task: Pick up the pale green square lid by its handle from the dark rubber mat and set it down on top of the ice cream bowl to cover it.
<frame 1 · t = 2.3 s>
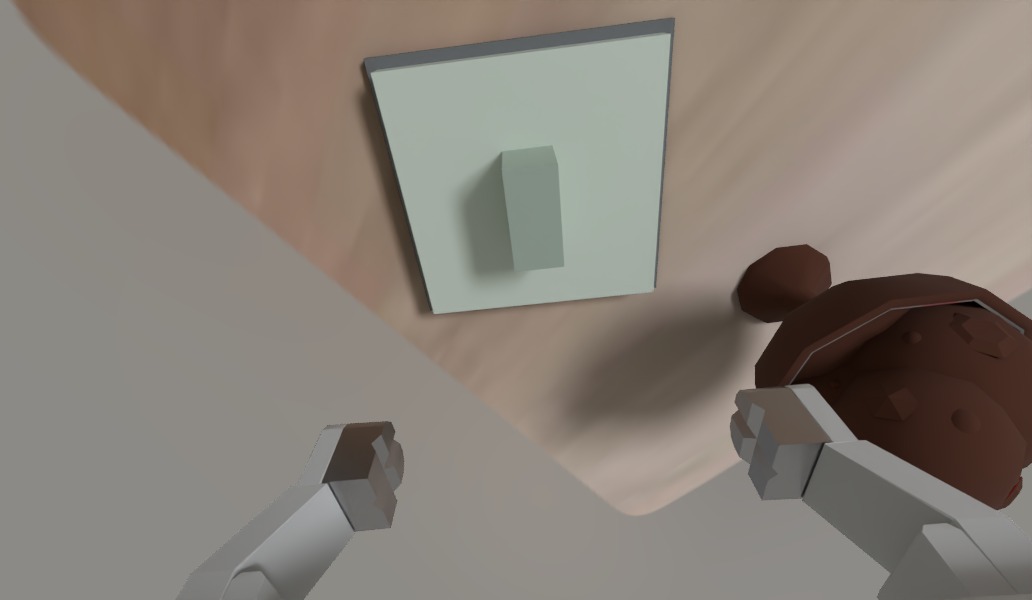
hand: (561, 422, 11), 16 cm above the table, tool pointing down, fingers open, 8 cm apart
ice cream bowl: (781, 282, 28), on the table
mat: (530, 187, 24), on the table
lid: (531, 189, 24), resting on mat
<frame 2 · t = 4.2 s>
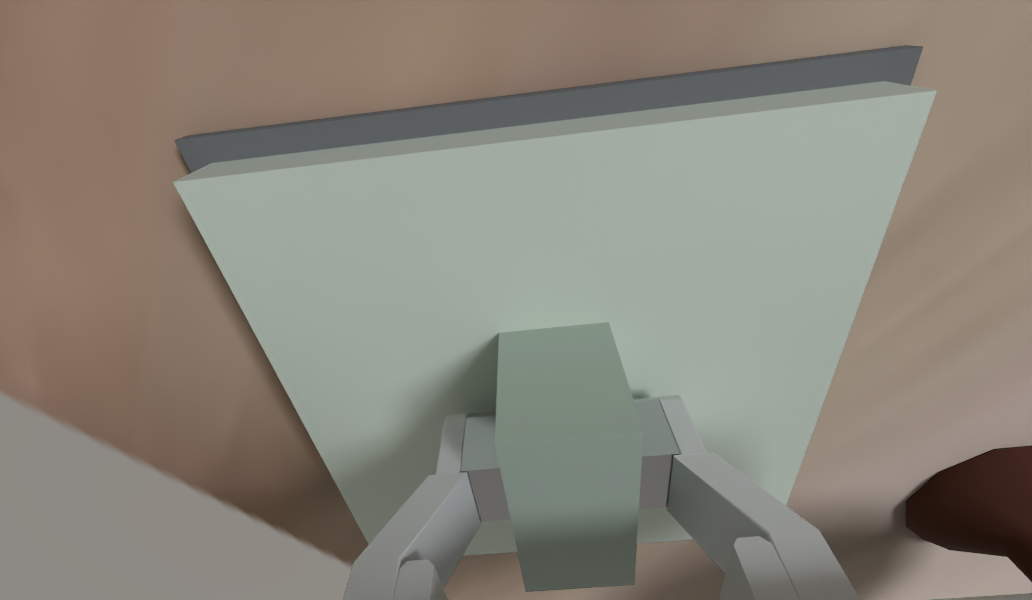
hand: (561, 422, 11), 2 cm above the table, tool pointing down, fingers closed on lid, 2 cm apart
ice cream bowl: (982, 490, 16), on the table
mat: (554, 365, 12), on the table
lid: (556, 375, 12), resting on mat, touching gripper
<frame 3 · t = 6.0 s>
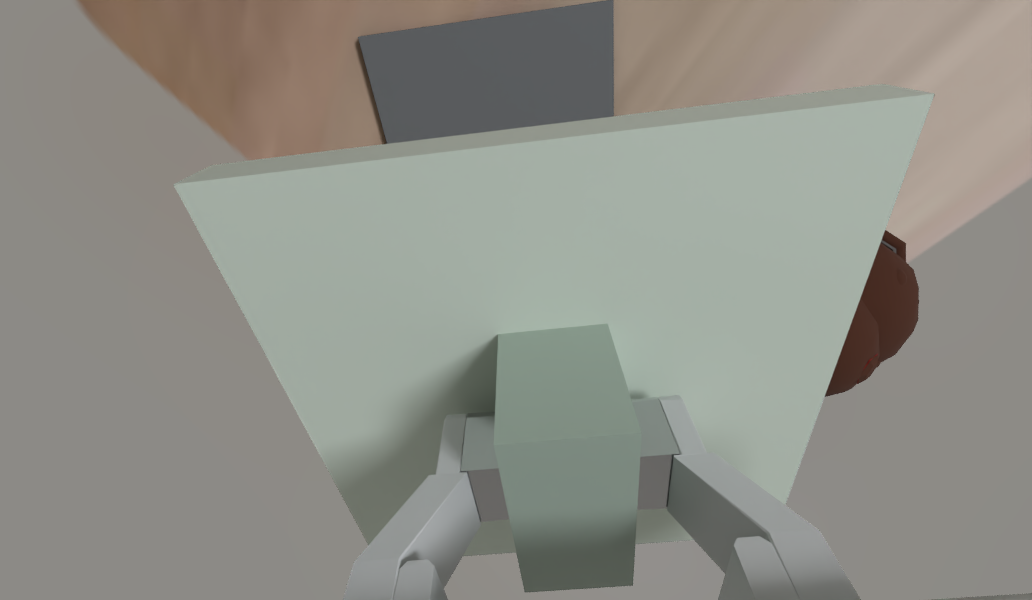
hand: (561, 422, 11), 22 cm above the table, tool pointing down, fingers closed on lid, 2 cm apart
ice cream bowl: (724, 233, 32), on the table
mat: (501, 147, 28), on the table
lid: (555, 376, 12), point 20 cm above the table, touching gripper
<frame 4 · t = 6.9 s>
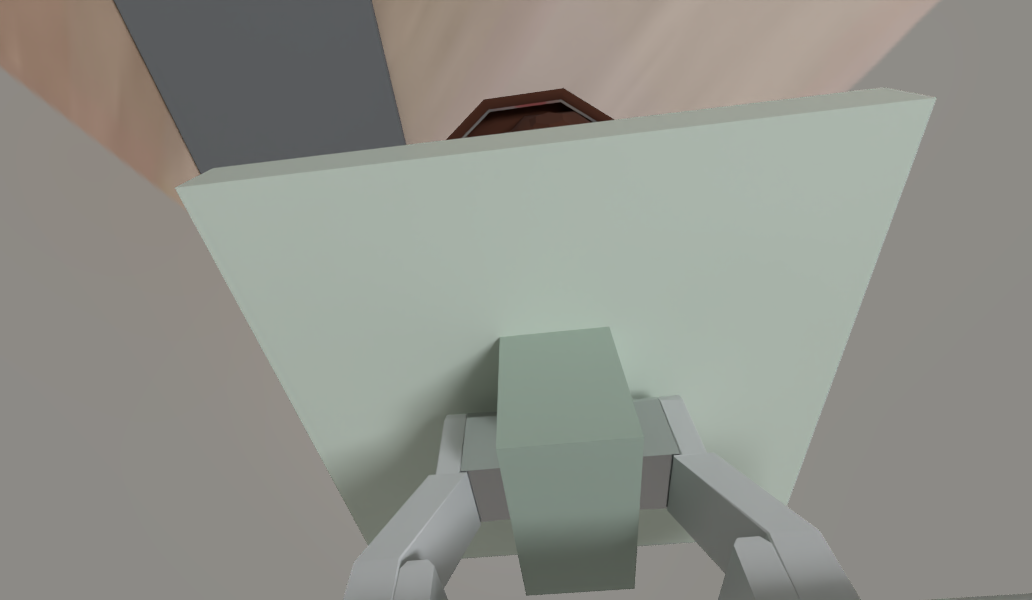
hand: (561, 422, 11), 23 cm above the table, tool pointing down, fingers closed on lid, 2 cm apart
ice cream bowl: (529, 157, 30), on the table
mat: (264, 51, 26), on the table
lid: (556, 378, 12), point 21 cm above the table, touching gripper
when the fingers open (19 cm above the table, at t = 7.8 s): lid drops 2 cm, resting on ice cream bowl.
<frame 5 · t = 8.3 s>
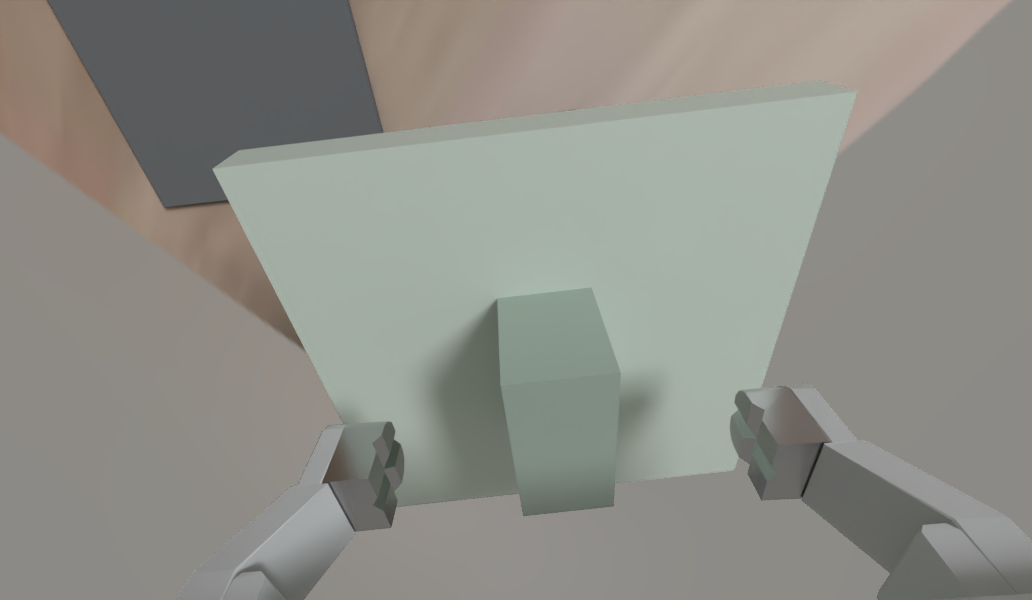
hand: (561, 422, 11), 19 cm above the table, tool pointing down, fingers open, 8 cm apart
mat: (226, 59, 23), on the table
lid: (545, 336, 14), point 15 cm above the table, touching ice cream bowl
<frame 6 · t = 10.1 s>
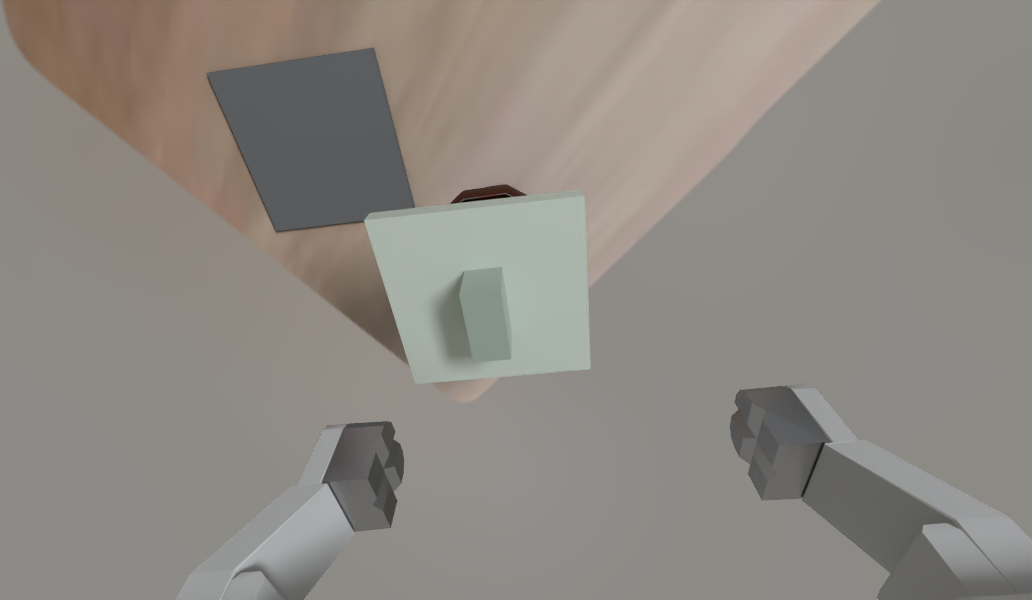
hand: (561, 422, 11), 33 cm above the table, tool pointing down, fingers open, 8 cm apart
ice cream bowl: (499, 211, 43), on the table, touching lid
mat: (321, 148, 40), on the table
lid: (489, 292, 30), point 15 cm above the table, touching ice cream bowl
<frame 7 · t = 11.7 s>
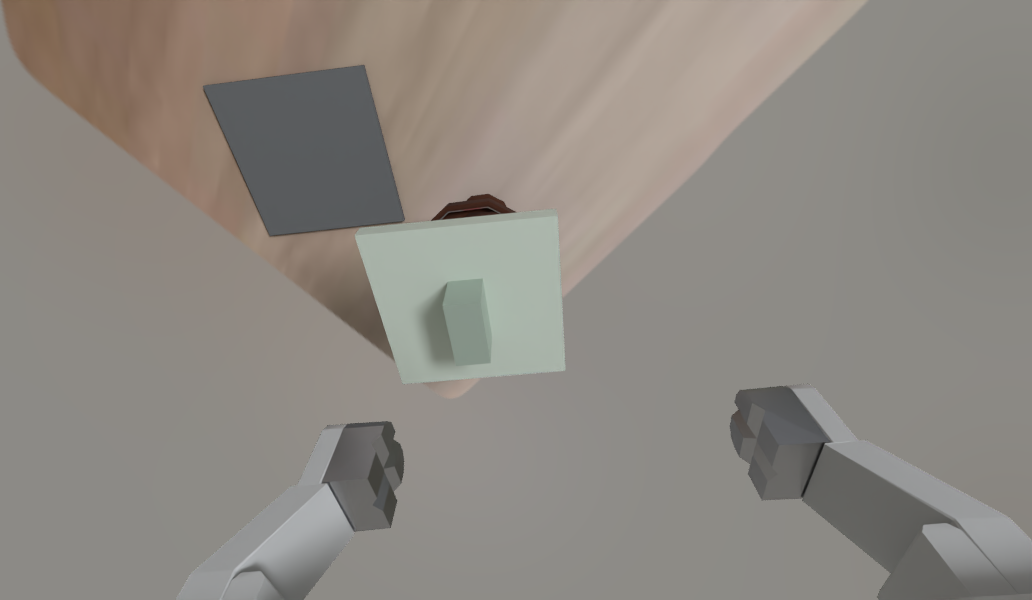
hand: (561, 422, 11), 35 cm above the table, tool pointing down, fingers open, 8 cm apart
ice cream bowl: (484, 219, 45), on the table, touching lid
mat: (313, 157, 42), on the table
lid: (472, 300, 33), point 15 cm above the table, touching ice cream bowl
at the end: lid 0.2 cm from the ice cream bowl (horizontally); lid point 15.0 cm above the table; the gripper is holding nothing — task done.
